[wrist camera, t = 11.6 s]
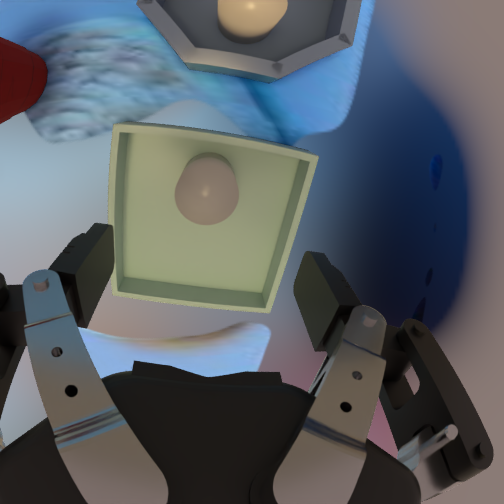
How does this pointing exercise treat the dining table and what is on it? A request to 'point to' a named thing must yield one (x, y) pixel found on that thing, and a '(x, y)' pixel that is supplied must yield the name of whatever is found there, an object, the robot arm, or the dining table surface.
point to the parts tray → (195, 235)
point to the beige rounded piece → (207, 189)
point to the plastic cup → (19, 79)
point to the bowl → (263, 52)
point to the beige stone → (249, 19)
